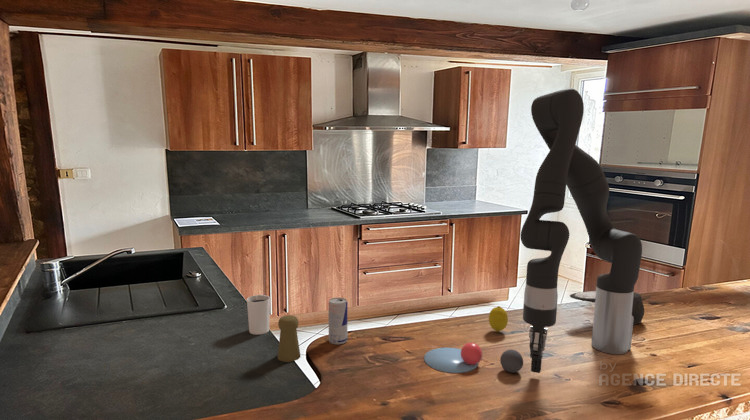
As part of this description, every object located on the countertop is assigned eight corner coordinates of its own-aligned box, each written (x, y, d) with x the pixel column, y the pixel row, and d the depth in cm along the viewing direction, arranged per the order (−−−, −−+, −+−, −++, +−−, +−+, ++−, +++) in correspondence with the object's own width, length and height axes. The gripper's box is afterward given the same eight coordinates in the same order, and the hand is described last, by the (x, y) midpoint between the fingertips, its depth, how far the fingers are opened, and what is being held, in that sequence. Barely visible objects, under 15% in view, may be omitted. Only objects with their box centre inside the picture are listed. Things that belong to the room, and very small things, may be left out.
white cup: (259, 337, 138) (258, 303, 136) (243, 331, 141) (241, 299, 140) (275, 329, 143) (274, 297, 142) (259, 324, 147) (258, 293, 145)
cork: (278, 351, 128) (277, 312, 127) (301, 351, 129) (300, 312, 127) (276, 362, 122) (275, 321, 121) (299, 361, 123) (299, 320, 121)
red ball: (485, 348, 124) (464, 347, 127) (480, 339, 121) (459, 338, 123) (483, 368, 121) (462, 367, 124) (478, 360, 117) (457, 359, 120)
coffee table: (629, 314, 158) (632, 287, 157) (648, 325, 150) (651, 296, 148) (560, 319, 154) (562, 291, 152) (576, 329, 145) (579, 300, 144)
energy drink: (350, 339, 137) (350, 299, 135) (341, 346, 132) (341, 304, 130) (334, 335, 139) (334, 296, 137) (325, 342, 134) (324, 301, 133)
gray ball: (517, 346, 121) (510, 364, 122) (500, 344, 119) (492, 363, 120) (531, 358, 116) (522, 378, 118) (513, 356, 114) (505, 376, 115)
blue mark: (460, 345, 134) (460, 344, 134) (489, 367, 121) (489, 366, 121) (415, 352, 129) (415, 352, 129) (440, 376, 116) (440, 376, 116)
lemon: (505, 328, 146) (506, 303, 144) (508, 336, 140) (510, 310, 139) (487, 327, 146) (488, 302, 145) (489, 335, 141) (490, 309, 140)
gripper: (555, 314, 106) (550, 387, 109) (558, 296, 118) (553, 362, 120) (520, 309, 109) (516, 380, 111) (527, 292, 121) (523, 357, 123)
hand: (535, 371), depth 116 cm, fingers closed
